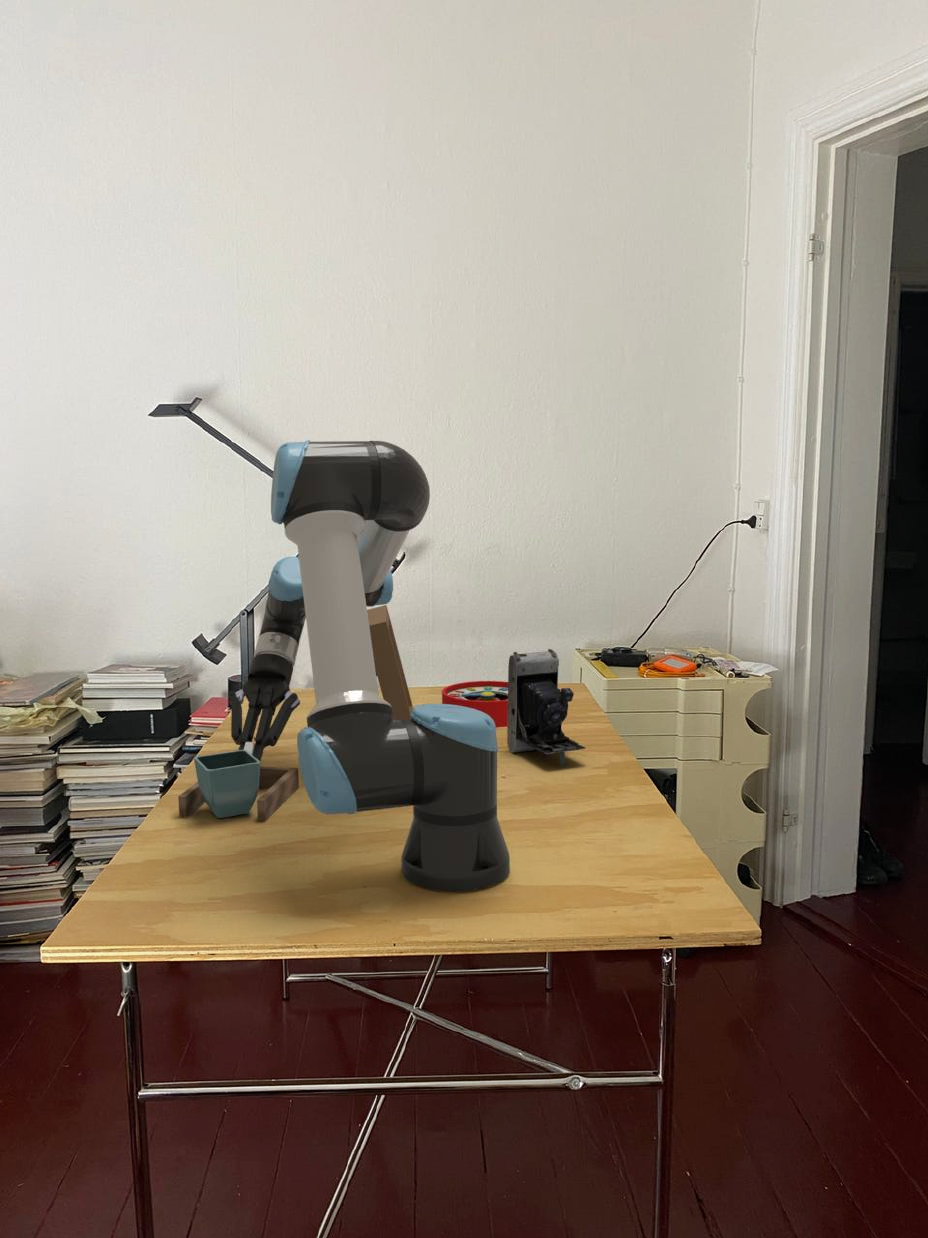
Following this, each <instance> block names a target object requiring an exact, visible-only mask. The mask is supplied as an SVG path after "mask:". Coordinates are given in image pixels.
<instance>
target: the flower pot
mask: <svg viewBox="0 0 928 1238" xmlns="http://www.w3.org/2000/svg"><path fill="white" fill-rule="evenodd" d="M193 761H194V767H195V773H196V778H197V782H198V784H199V788H200V791H201V794H202V796H203V798H204V800H205V804H206V805H207V807H208V808H209V810H210V811H211V812H212V813H213V814H214V815H215V817H216V818H218V819H223V818H229V817H234V816H240V815H245V814H249V813H250V812H251V809H252V808H253V806H254V804H255V802H256V801H257V796H258V793H259V789H260V788H259V777H260V766H261V762H260V761H259V760H258V759H256V758H255V757H254V756H253V755H251V754H250V753H249V752H248V751H247V750H239V749H238V750H231V751H227V752H219V753H213V754H212V753H211V754H205V755H198V756H194V757H193Z"/></svg>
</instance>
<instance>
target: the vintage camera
mask: <svg viewBox="0 0 928 1238" xmlns="http://www.w3.org/2000/svg"><path fill="white" fill-rule="evenodd" d="M512 653H513V654H512V655H511V654H510V655H509V658H508V673H507V680H508V681H507V682H508V720H507V728H506V729H507V730H506V732H507V733H506V735H507V736H506V744H507V748H508V751H509V752H510V753H511V754H514V753H523V752H529V751H530V752H531V751H539V752H541V753H543V754H545V755H551V754H552V755H553V754H557V753H559V757H560V767H561V768H566V755H565V753H566V752H572V751H579V750H585V749H586V747H585V746H583V745H581V744H580V743H579V742H577V741H574V740H572V739H570V737H568V736H566V735H565V733H564V731H563V728H562V724H563V723H564V721H565V719H566V718H567V716H568V710H569V702H572V701H573V699H574V698H573V697H574V696H575V694H574V692H573V690H572V689H571V688H569V687H564V688H561V689H560V688H559V686H558V683H559V666H560V659H559V657H558V653H557V652H556V651H554V650H553V649H551V648H548V649H547V650H546V651H534V652H525V653H518V652H517V651H514V652H512Z"/></svg>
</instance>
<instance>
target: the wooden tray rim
mask: <svg viewBox="0 0 928 1238" xmlns="http://www.w3.org/2000/svg"><path fill="white" fill-rule="evenodd" d="M299 780H300V779H299V768H298V767H281V766H261V765H260V777H259V788H258V789H267V790H266V791H265V792H264V793H263V794H262V795H261V796H259V798H258V799H256V804H257V805H256V807H257V808H256V809H257V822H264V823H265V822H267V820H269V818H270V817H271V816H272V815H273V814H274V813H275V812H277V810H278V809H279V808H280V807H281V806H282V805H283V804H284V803H285V802H286V801H287V800H288V799H289V798H291V796H292V795H293V794H294V793H295V792H296V791H297V790H298V789H299V787H300V785H299V784H300V782H299ZM177 798H178V799H177V800H178V814H179V818H187V817H189V816H190V815H192V814H193V813H194V812H195V811H196V810H198V807H199V808H200V807H201V806H202V805H204V804H205V803H206V802H205V800H204V798H203V796H202V794H201V791H200V788H199V784H198V781H197V782H194V784H193V785H191V786H190V787H189V788H187V789H186V790H184V791H183V792H182V793H181V794H179V795H178V797H177ZM286 799H287V800H286ZM204 802H205V803H204ZM283 802H284V803H283ZM282 803H283V804H282ZM281 804H282V805H281ZM193 811H194V812H193Z"/></svg>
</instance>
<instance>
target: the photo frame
mask: <svg viewBox="0 0 928 1238" xmlns="http://www.w3.org/2000/svg"><path fill="white" fill-rule="evenodd" d="M367 614H368V621H369V628H370V635H371V642H372V649H373V657H374V664H375V671H376V678H377V681H378V684H379V687H380V691H381V695H382V699H384V700H385V701H387V702H388V703H389V704H390V705H391V707H392V712H393V719H394V720H408V719H411V717H410V714H411V713H412V709H413V708H414V705H413V702H412V698H411V695H410V691H409V688H408V683H407V680H406V679H407V678H406V675H405V672H404V668H403V664H402V660H401V655H400V652H399V649H398V645H397V644H398V643H397V640H396V637H395V634H394V633H395V632H394V628H393V625H392V622H391V621H392V620H391V617H390V613H389V609H388V605H387V604H384V605H379V606H375V607H374V608H373V607H371V608H369V609H368V608H367Z"/></svg>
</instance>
